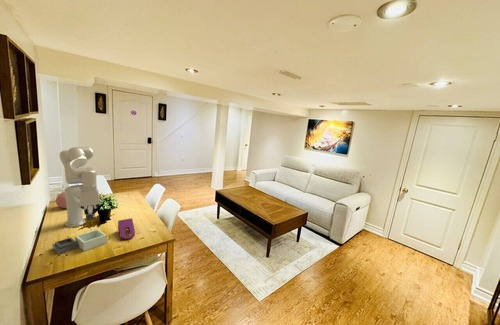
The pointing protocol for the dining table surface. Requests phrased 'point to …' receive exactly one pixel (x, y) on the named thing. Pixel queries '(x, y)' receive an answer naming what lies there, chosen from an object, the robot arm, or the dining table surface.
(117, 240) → the dining table surface
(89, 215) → the grey rounded piece
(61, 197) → the balloon
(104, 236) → the bin
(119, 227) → the mounting bracket
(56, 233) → the dining table surface
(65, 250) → the socket block
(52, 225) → the dining table surface
